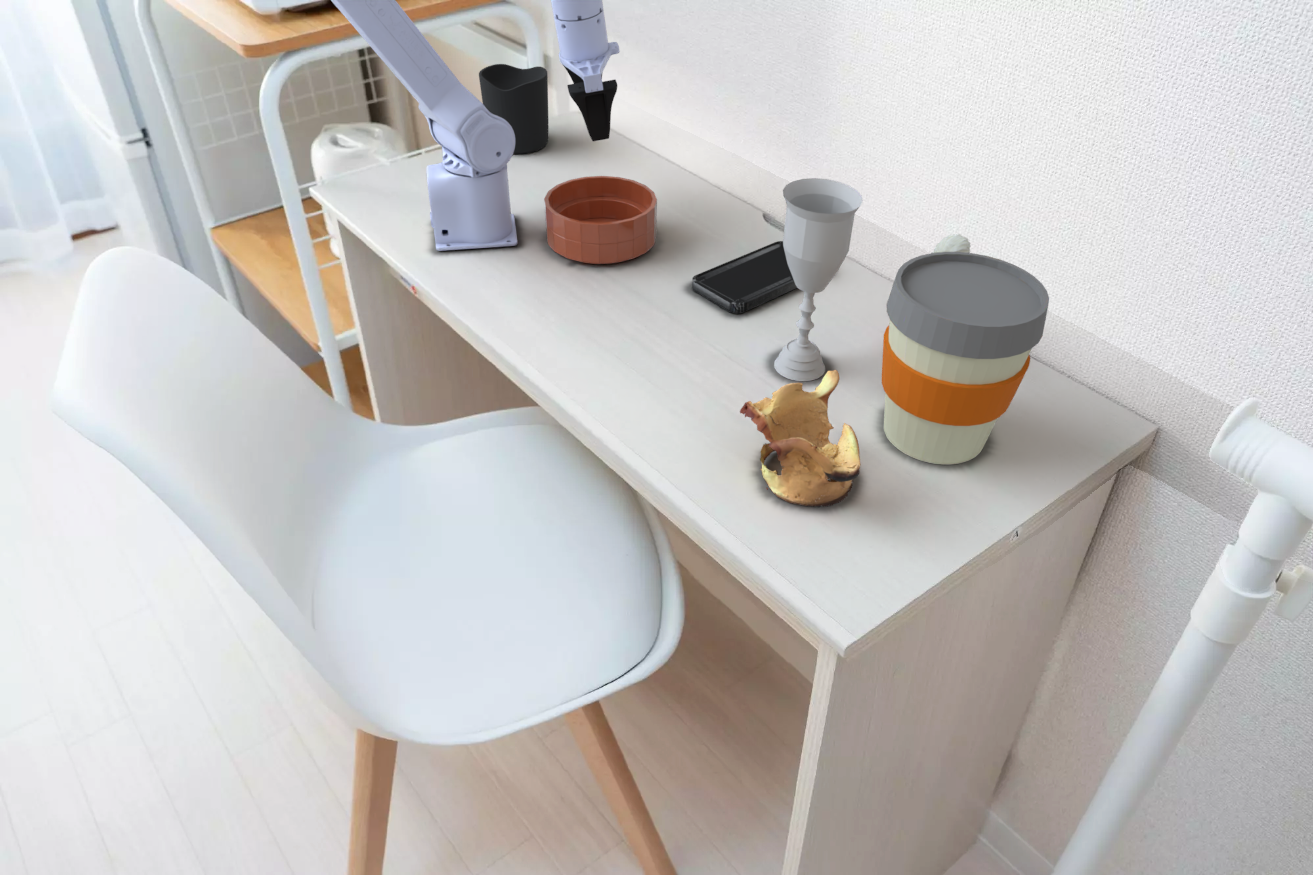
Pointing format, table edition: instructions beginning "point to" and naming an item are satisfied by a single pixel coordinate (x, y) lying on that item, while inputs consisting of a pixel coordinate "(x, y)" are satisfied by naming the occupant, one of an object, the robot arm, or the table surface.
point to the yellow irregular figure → (805, 445)
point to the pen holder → (518, 102)
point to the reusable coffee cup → (956, 351)
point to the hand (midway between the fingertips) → (596, 125)
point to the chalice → (814, 259)
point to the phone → (747, 279)
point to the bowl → (601, 219)
